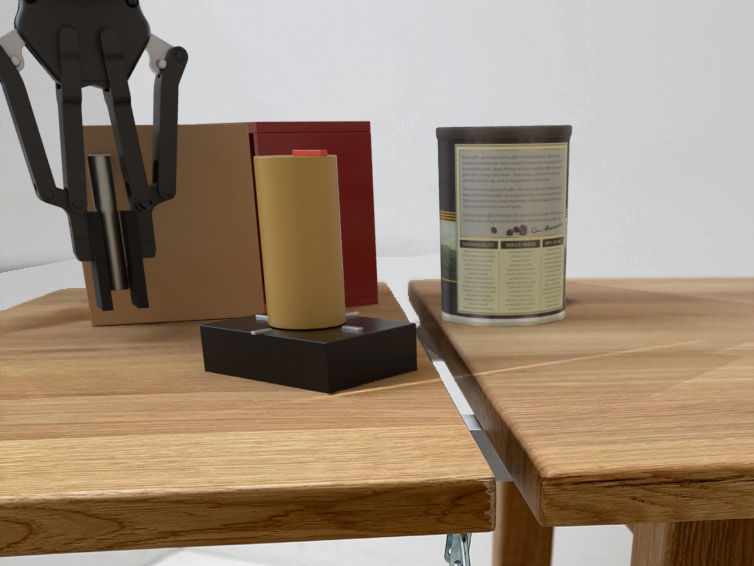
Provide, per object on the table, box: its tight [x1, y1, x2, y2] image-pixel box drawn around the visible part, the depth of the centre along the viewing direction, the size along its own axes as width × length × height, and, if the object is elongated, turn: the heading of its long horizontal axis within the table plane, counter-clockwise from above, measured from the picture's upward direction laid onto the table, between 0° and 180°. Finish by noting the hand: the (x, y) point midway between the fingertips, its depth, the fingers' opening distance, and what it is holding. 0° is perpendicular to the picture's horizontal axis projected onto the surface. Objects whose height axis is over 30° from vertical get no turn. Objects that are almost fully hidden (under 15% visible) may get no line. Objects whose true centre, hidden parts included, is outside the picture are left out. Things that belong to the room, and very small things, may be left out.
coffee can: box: [435, 124, 573, 328], centre depth 80 cm, size 10×10×14 cm
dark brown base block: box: [199, 310, 418, 396], centre depth 64 cm, size 11×9×3 cm
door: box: [81, 123, 265, 327], centre depth 77 cm, size 7×14×14 cm, turn 107°
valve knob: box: [254, 150, 347, 329], centre depth 61 cm, size 5×5×10 cm
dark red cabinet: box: [208, 120, 379, 313], centre depth 89 cm, size 10×14×15 cm
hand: (122, 306), depth 75 cm, fingers closed on door, 2 cm apart
